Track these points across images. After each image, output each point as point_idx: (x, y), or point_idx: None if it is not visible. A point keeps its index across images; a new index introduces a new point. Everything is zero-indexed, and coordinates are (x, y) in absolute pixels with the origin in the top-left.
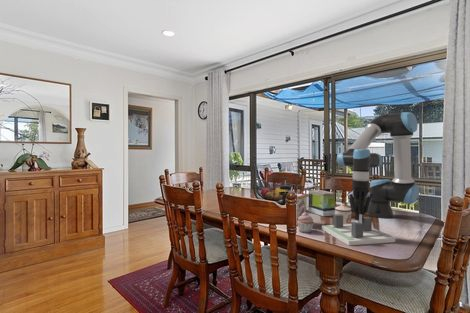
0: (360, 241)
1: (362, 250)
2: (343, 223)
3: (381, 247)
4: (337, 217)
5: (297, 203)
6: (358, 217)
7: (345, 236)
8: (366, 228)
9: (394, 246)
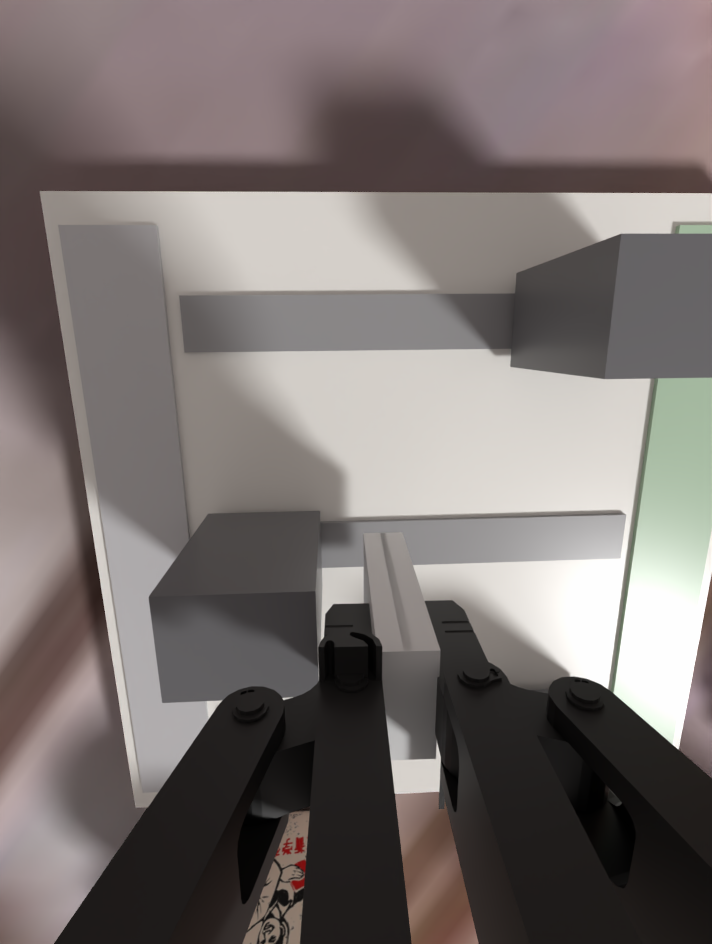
0: (601, 197)
1: (701, 4)
2: None
3: (391, 54)
4: None
5: None
6: (435, 632)
7: None
8: (287, 522)
9: (193, 51)
